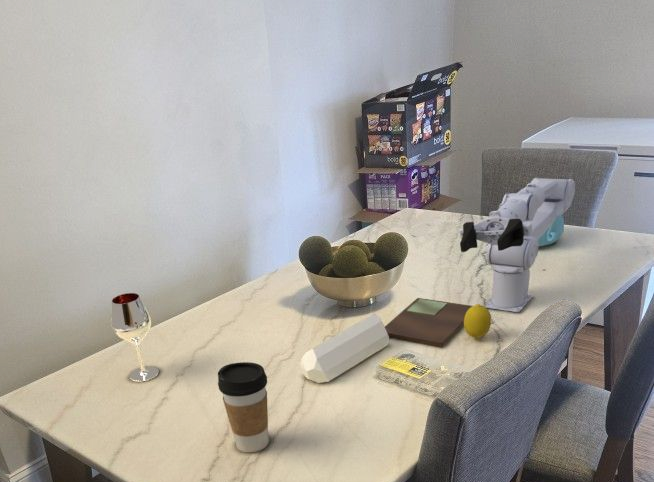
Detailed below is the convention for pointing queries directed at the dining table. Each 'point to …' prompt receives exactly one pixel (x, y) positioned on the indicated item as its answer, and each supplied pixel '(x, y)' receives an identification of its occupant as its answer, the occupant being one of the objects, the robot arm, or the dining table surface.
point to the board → (428, 322)
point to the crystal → (345, 350)
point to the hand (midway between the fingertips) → (480, 246)
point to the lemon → (477, 321)
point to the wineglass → (132, 328)
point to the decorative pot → (552, 232)
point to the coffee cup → (246, 404)
